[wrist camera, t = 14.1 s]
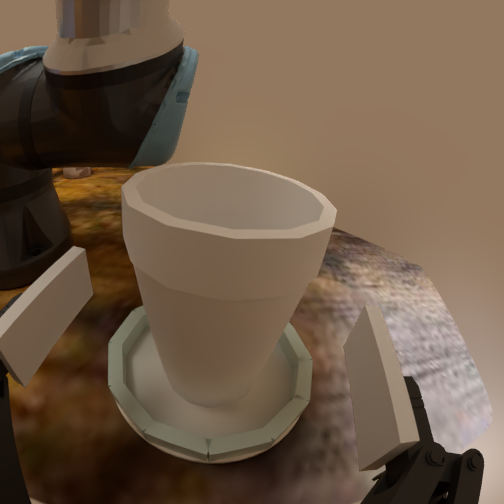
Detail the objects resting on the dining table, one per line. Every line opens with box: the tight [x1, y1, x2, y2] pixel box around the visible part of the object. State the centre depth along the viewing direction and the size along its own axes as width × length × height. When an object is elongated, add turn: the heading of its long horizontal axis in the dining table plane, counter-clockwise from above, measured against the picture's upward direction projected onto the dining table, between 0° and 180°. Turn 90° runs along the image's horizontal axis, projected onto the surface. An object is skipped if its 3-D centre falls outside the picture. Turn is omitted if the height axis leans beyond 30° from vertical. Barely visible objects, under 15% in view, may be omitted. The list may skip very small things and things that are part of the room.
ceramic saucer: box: [108, 305, 313, 464], centre depth 18 cm, size 14×14×2 cm
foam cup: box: [121, 162, 337, 408], centre depth 15 cm, size 10×9×13 cm
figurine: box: [63, 167, 92, 179], centre depth 50 cm, size 7×7×12 cm
